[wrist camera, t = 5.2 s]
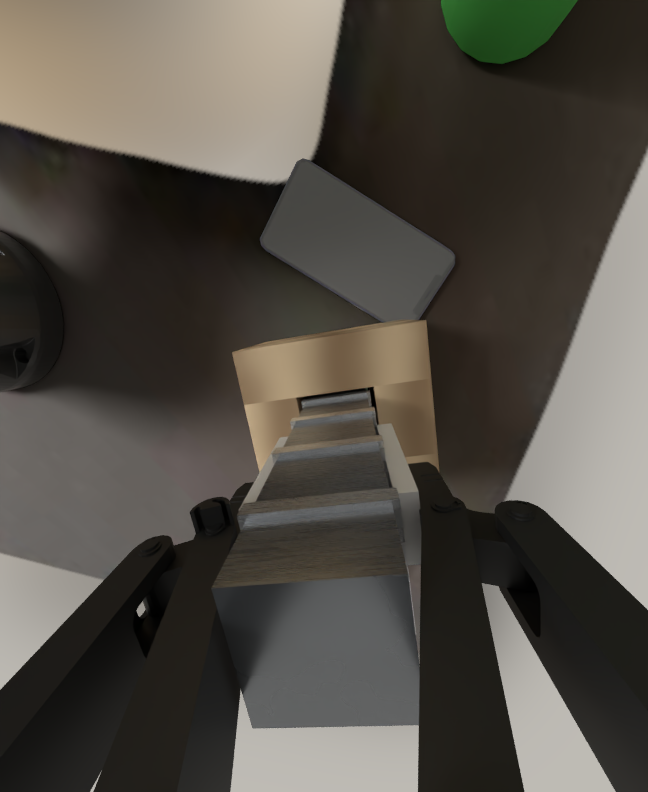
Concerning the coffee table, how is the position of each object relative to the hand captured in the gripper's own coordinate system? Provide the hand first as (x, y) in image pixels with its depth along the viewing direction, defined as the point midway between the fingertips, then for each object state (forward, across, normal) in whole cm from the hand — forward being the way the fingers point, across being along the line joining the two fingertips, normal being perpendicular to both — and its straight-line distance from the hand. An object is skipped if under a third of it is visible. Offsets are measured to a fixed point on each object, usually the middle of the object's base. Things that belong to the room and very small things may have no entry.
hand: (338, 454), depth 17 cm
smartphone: (+14, +3, +12) cm, 18 cm away
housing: (+13, 0, 0) cm, 13 cm away
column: (+12, 0, 0) cm, 12 cm away
